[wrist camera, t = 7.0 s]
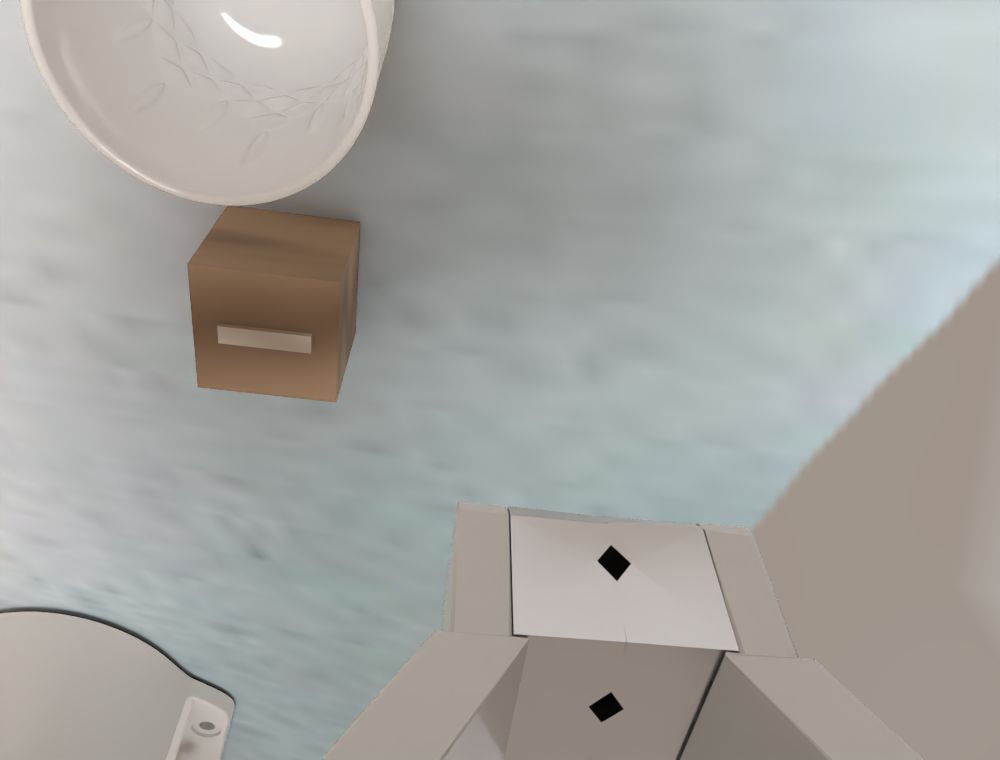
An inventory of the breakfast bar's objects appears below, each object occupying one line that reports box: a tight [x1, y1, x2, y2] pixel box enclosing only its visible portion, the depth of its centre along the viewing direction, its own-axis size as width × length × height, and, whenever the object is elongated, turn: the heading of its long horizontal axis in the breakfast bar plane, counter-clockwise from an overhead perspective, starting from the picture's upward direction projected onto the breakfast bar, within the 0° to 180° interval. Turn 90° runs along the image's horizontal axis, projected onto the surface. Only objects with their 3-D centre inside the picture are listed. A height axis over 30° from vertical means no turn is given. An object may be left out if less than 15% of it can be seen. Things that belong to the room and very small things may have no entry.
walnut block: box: [188, 206, 360, 402], centre depth 31 cm, size 5×5×5 cm
